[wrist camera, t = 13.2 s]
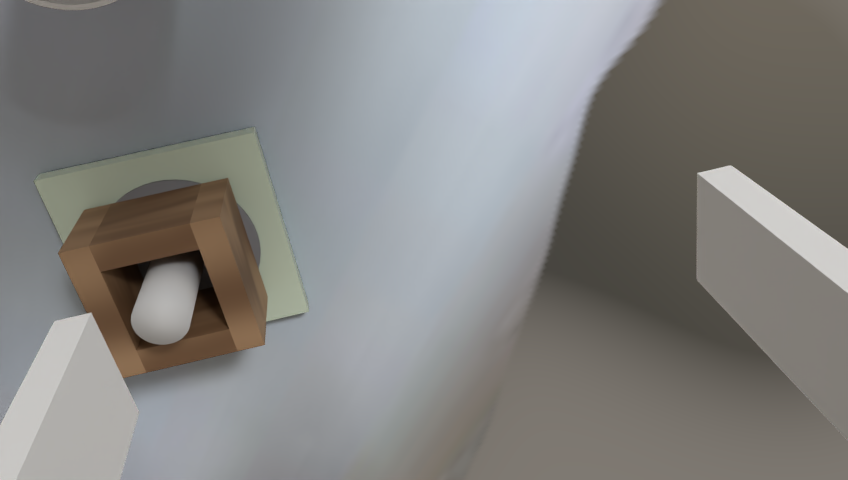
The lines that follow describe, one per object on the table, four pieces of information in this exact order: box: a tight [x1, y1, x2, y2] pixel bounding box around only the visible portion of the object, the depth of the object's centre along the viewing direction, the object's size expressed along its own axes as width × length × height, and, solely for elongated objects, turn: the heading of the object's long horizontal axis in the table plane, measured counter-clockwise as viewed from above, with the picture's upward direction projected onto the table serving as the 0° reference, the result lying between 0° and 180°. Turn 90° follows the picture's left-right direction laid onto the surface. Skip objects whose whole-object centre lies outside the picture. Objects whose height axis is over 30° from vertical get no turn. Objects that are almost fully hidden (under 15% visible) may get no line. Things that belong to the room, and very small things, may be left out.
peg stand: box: [34, 127, 309, 345], centre depth 40 cm, size 12×12×8 cm
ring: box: [58, 178, 268, 378], centre depth 40 cm, size 8×8×5 cm
